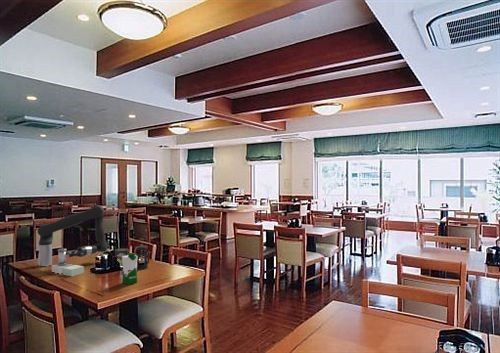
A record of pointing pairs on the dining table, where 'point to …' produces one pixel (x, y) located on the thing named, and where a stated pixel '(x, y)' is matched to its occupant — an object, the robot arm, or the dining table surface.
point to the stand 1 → (59, 268)
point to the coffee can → (121, 254)
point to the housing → (62, 257)
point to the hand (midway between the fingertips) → (65, 255)
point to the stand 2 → (73, 270)
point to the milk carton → (129, 268)
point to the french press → (141, 265)
